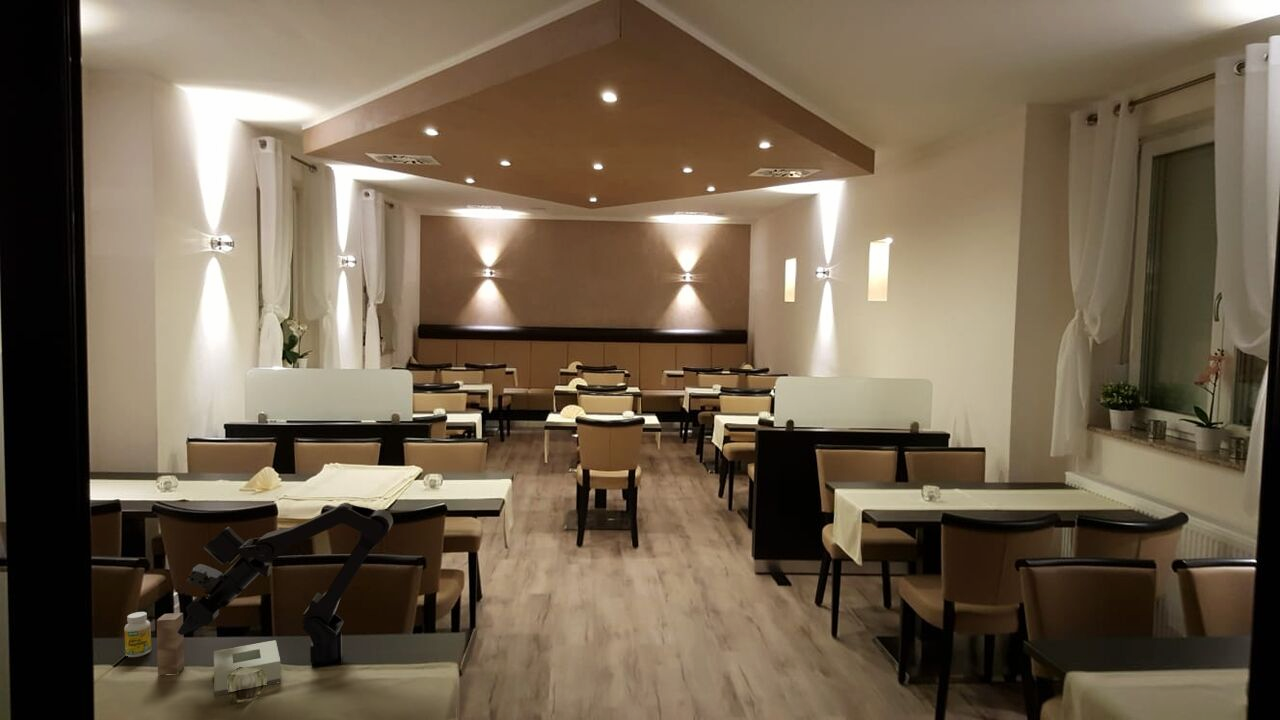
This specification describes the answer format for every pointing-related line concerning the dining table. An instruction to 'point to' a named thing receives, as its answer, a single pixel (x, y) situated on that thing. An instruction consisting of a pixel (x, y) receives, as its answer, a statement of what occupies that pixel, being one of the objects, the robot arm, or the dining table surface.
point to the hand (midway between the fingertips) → (187, 625)
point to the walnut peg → (170, 644)
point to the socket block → (246, 663)
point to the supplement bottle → (137, 635)
